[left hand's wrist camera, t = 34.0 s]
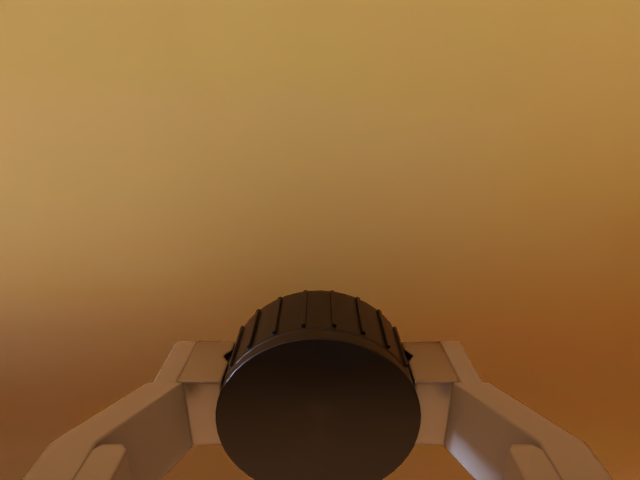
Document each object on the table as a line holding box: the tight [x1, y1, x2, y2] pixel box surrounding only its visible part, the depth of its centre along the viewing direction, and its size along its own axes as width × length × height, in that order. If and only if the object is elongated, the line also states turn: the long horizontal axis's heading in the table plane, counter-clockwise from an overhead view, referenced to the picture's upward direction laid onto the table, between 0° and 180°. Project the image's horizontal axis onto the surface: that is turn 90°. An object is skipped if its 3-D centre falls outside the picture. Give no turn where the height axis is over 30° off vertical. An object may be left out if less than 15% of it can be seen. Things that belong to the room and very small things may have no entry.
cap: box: [215, 290, 421, 480], centre depth 9 cm, size 4×4×2 cm
